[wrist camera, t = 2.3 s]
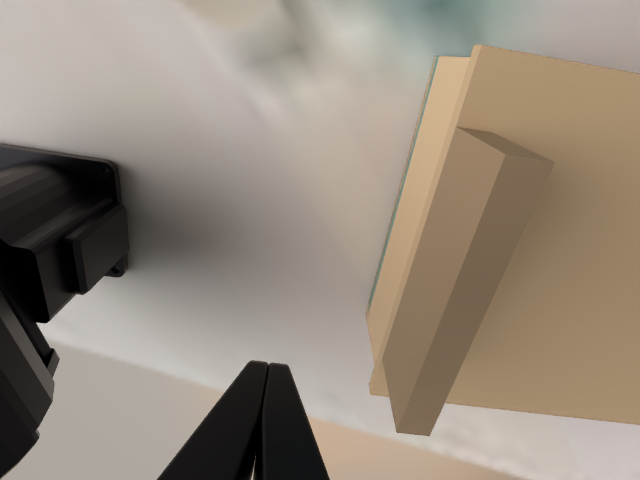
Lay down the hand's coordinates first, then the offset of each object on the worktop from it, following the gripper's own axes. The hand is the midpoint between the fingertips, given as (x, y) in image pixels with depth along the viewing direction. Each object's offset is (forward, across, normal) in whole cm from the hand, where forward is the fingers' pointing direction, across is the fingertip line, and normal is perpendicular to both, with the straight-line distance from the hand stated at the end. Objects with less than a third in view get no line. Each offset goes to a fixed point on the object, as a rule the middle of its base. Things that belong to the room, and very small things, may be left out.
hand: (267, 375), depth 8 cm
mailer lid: (+7, -12, 0) cm, 14 cm away
